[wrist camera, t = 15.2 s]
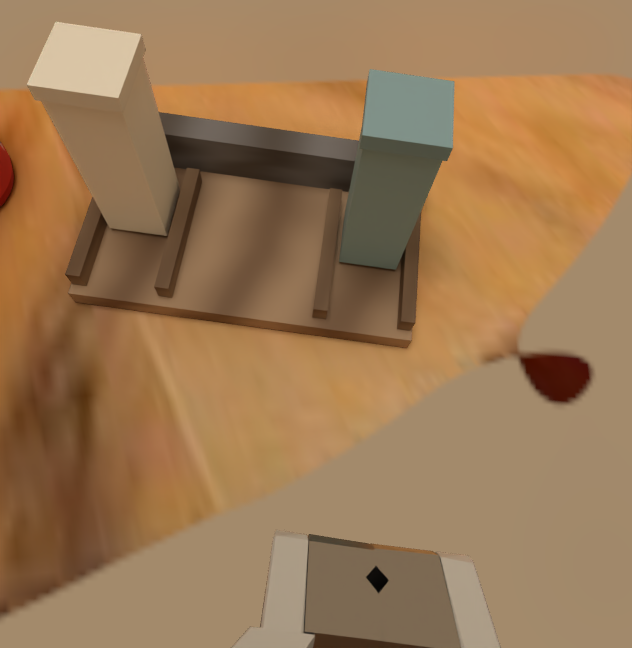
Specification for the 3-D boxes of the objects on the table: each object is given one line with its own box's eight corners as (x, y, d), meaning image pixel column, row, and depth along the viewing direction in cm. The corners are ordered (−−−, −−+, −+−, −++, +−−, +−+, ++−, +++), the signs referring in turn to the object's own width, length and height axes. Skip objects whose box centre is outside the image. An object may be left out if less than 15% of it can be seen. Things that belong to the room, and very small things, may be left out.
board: (75, 302, 31) (46, 267, 27) (128, 145, 36) (109, 97, 32) (406, 347, 31) (424, 320, 28) (416, 186, 36) (432, 143, 32)
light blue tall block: (336, 263, 32) (362, 135, 22) (342, 211, 33) (369, 69, 23) (398, 272, 32) (452, 148, 22) (401, 219, 33) (454, 81, 23)
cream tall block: (106, 229, 31) (26, 84, 22) (123, 179, 33) (55, 21, 23) (169, 238, 32) (118, 97, 22) (182, 187, 33) (141, 34, 23)
